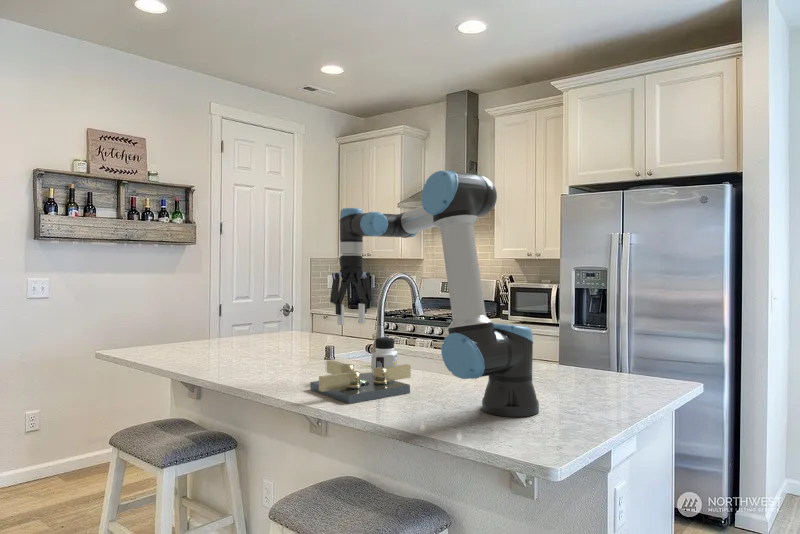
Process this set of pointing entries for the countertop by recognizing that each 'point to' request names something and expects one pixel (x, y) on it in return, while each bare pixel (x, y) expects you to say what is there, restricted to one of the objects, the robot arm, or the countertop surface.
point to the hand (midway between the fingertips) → (351, 323)
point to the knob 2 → (391, 373)
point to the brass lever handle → (338, 367)
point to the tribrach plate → (364, 390)
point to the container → (384, 353)
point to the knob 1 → (339, 381)
